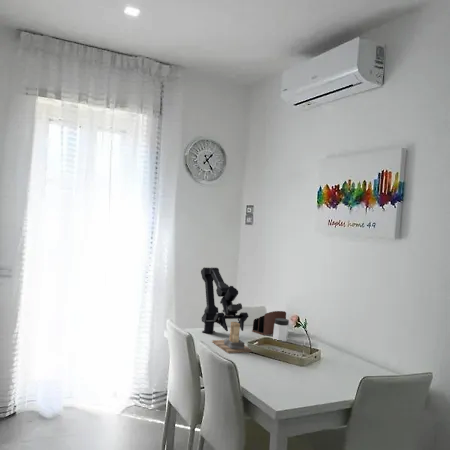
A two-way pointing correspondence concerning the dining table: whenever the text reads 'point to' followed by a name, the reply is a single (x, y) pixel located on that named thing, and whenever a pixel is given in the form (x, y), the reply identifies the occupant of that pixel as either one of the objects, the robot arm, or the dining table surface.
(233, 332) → the tan wooden block
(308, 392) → the dining table surface
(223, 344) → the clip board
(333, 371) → the dining table surface
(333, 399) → the dining table surface
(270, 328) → the letter holder
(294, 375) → the dining table surface
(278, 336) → the jar
